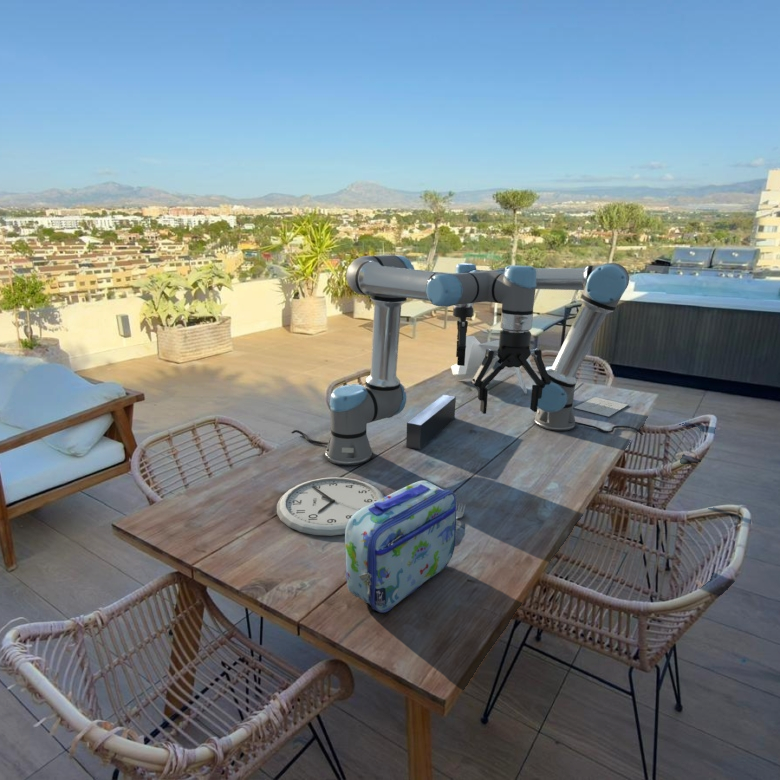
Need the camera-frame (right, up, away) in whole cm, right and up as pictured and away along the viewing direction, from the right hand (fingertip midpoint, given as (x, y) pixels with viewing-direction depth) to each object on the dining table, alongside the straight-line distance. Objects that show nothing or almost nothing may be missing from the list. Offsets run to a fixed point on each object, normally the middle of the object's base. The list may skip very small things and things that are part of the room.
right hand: (460, 361), depth 202 cm
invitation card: (+64, -19, +24) cm, 71 cm away
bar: (-11, -27, -6) cm, 30 cm away
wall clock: (-43, -43, -59) cm, 85 cm away
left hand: (+4, -17, -67) cm, 69 cm away
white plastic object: (+21, -10, +49) cm, 54 cm away
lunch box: (-25, -53, -90) cm, 107 cm away
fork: (-11, -46, -68) cm, 82 cm away
